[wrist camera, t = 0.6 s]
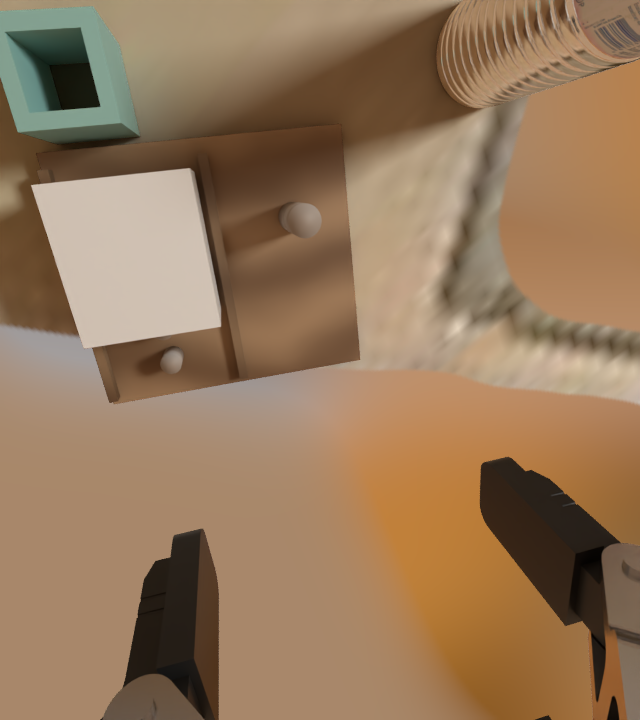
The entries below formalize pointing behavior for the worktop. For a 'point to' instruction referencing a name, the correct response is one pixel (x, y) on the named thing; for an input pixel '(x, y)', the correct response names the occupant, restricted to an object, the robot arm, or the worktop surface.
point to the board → (244, 257)
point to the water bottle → (532, 46)
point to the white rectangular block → (132, 255)
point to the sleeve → (55, 47)
